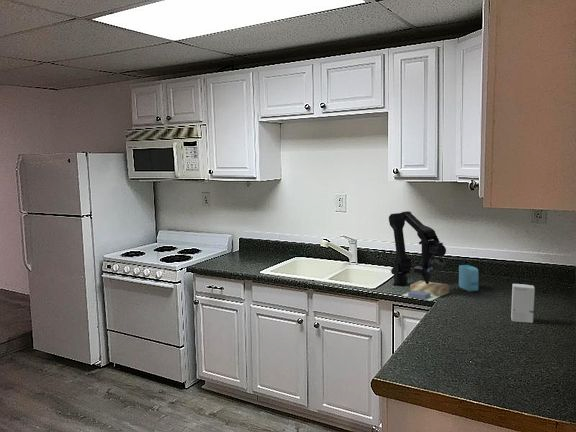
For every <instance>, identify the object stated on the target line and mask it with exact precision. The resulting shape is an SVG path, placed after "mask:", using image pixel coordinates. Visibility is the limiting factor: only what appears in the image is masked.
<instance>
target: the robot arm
mask: <svg viewBox="0 0 576 432" xmlns="http://www.w3.org/2000/svg"><path fill="white" fill-rule="evenodd" d="M388 222H389V226H390V227H391V229H392V230H393V236H394V237H393V238H394V244H395V253H396V257H395V259H394V266H393V267H392V269H391V270H390V272H391V274H392V275H393V283H392V286H396V287H398V286H399V287H405V286H407V285H409V283H408V279H409V277H408V275H409V274H410V272H411V269H412V263H411V258H410V257H408V256H407V254H406V253H407V252H406V244H405V236H404V227H405V224H406V223H407V224H408V225H409V226H410V227H411V228H412V229H413V230H414V231H416V233H417V237H418V238H419V239H420V241H419V242H418V244H419V245H421V255H419V258H420V259H421V263H419V265H416V266H414V267H413V269H412V272H413V273H417V274H420V275H421V277H422V279H423V281H425V283H426V284H429V282H431V281H430V280H431V278H432V275H433V273H434V272H436V271H441V270H443V269H444V267H445V266H446V260H445V259H444V258H442V257H444V256H445V255H446V253H447V249H446V246H445V245H444V242H441V241H440V240H439V237H438V235H437V234H436V231H435V229H433V228H431V227H430V226H427V225H425V224H423V223H422V222H421V221H420V220H419V219H418V218H417V217H416V216H415V215H414V214H413V212H412V211H401V212H398V213H391V214H389V215H388ZM436 257H441V258H440V259H436Z"/></svg>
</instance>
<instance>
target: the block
mask: <svg viewBox="0 0 576 432" xmlns="http://www.w3.org/2000/svg"><path fill="white" fill-rule="evenodd" d="M408 292H409V293H408ZM408 292H407V293H408V298H411V297H413V299H417V298H419V299H418V300H423V299H427V298H429V297H430V293H428V292H422V291H415V290H413V291H411V292H410V291H408Z"/></svg>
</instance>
